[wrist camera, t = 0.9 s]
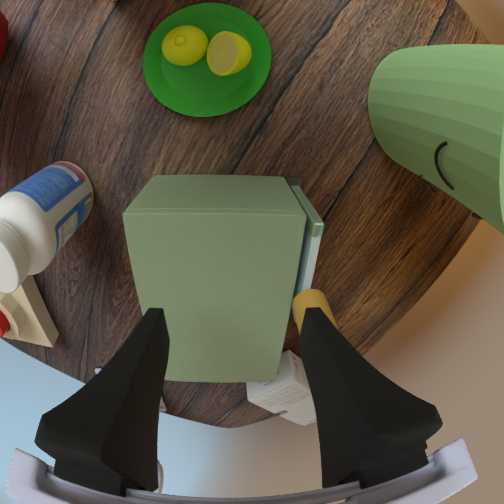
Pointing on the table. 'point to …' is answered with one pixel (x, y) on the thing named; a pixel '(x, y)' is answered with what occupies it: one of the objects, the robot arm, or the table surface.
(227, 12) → the plate with lemons
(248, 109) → the table surface
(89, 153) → the table surface
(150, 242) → the cabinet
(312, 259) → the glass door
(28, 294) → the control box
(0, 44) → the apple
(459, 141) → the mug
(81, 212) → the pill bottle
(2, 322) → the button
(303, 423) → the cosmetic box
